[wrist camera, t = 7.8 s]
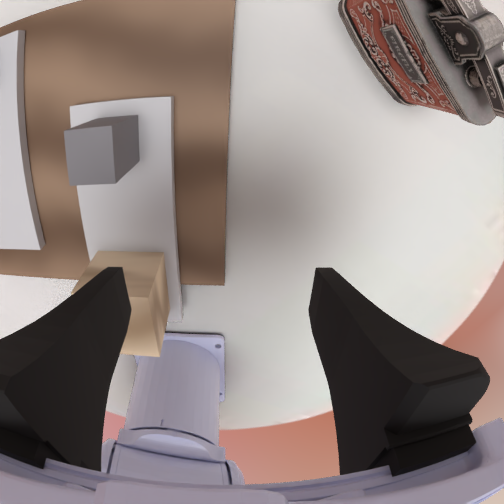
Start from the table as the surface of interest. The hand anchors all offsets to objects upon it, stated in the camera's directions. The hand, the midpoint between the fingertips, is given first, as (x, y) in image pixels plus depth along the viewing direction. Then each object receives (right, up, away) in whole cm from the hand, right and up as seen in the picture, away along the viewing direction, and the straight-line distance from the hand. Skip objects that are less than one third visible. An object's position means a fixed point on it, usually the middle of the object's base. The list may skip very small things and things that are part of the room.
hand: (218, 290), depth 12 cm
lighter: (+9, +14, +4) cm, 17 cm away
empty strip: (-16, +8, +4) cm, 18 cm away
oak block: (-7, 0, +9) cm, 11 cm away
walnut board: (-10, +8, +6) cm, 14 cm away
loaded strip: (-6, +3, +8) cm, 10 cm away
